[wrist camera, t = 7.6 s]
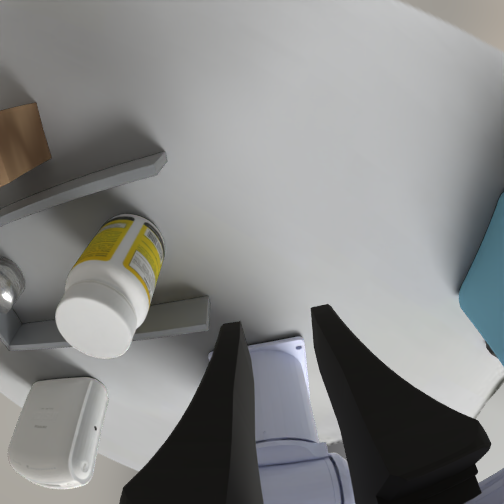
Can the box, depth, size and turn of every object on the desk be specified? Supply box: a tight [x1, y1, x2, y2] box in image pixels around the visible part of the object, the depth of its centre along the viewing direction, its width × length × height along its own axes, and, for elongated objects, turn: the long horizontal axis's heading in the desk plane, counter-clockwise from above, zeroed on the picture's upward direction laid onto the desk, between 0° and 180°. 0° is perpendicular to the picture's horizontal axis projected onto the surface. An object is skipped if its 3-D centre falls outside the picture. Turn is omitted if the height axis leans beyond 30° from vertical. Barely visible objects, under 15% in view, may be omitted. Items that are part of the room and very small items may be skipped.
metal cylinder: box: [0, 258, 25, 314], centre depth 20 cm, size 4×4×3 cm
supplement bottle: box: [55, 214, 165, 359], centre depth 17 cm, size 5×5×8 cm
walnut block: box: [0, 103, 52, 187], centre depth 14 cm, size 4×4×5 cm
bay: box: [0, 152, 210, 351], centre depth 19 cm, size 11×19×3 cm, turn 100°
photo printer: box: [8, 377, 109, 489], centre depth 23 cm, size 10×4×12 cm, turn 105°
